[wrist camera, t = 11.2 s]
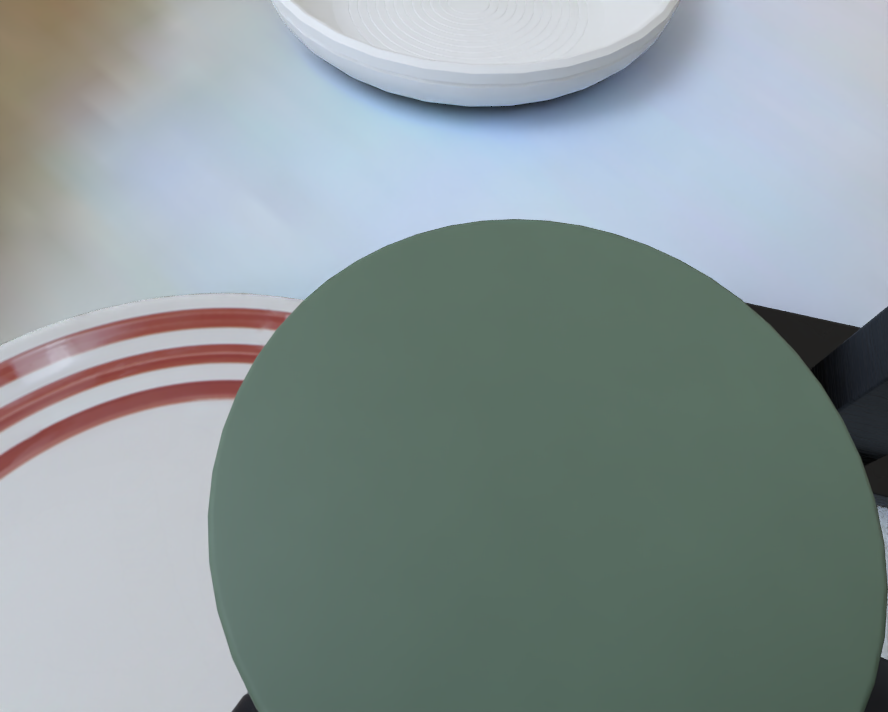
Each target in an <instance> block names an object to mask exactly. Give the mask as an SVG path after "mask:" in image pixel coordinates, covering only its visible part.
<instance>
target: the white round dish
mask: <svg viewBox="0 0 888 712" xmlns="http://www.w3.org/2000/svg"><path fill="white" fill-rule="evenodd" d="M270 1H271V2H272V4H273V6H274V7H275V9H276V11H277V12H278V14H279V15H280V17H281V19H282V20H283V22H284V23H285V25H286V26H287V27H288V28H289V29H290V31H291V32H292V33H293V34H294V35H295V36H296V37H297V38H298V39H299V40H300V41H301V42H303V43H304V44H305V45H306V46H307V47H308V48H309V49H310V50H311V51H312V52H313V53H314V54H316V55H317V56H319V57H320V58H322V59H323V60H325V61H327V62H328V63H330V64H331V65H333V66H335V67H336V68H338V69H339V70H341V71H343V72H344V73H346V74H348V75H349V76H351V77H352V78H355V79H357V80H359V81H362V82H364V83H367V84H369V85H372V86H374V87H377V88H379V89H381V90H384V91H386V92H390V93H394V94H398V95H402V96H406V97H410V98H414V99H418V100H422V101H426V102H433V103H442V104H451V105H460V106H512V105H519V104H525V103H532V102H538V101H545V100H550V99H554V98H557V97H560V96H563V95H566V94H570V93H573V92H576V91H579V90H582V89H585V88H587V87H590V86H592V85H594V84H596V83H598V82H600V81H602V80H604V79H605V78H607V77H609V76H611V75H613V74H615V73H617V72H619V71H621V70H623V69H625V68H626V67H627V66H628V65H629V64H630V63H632V62H633V61H634V60H635V59H636V58H638V57H639V56H640V55H641V54H642V53H643V52H645V51H646V50H647V49H648V48H649V47H650V46H651V45H652V44H653V43H654V42H655V41H656V40H657V39H658V37H659V36H660V34H661V33H662V31H663V30H664V28H665V27H666V25H667V24H668V22H669V21H670V19H671V17H672V15H673V13H674V11H675V10H676V8H677V7H678V4H679V1H680V0H270Z"/></svg>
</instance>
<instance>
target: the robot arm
mask: <svg viewBox="0 0 888 712" xmlns="http://www.w3.org/2000/svg"><path fill="white" fill-rule="evenodd" d="M232 712H258V710H257V709H256V707H255V705H254V703H253V701H252V699H251V697H250V695H249V693H248V692H247V694H245V695H243V697H242V698H241V699H240V701H239V702H238V703H237V705H236V706H235V707H234V709H233V710H232ZM864 712H888V660H886V659H884V658H881V657H880V661H879V666H878V671H877V676H876V680H875V684H874V687H873V690H872V692H871V695H870V698H869V700H868V703H867V705H866V708H865V711H864Z"/></svg>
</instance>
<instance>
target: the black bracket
mask: <svg viewBox="0 0 888 712" xmlns="http://www.w3.org/2000/svg"><path fill="white" fill-rule="evenodd" d="M746 304H747V305H748V306H749V307H750V308H751V309H753V310H754V311H755V312H756V313H757V314H758V315H760V316H761V317H762V318H763V319H764V320H765V321H766V322H768V323H769V324H770V325H771V326H772V327H773V328H774V329H775V330H776V331H777V333H778V334H779V335H780V336H781V337H782V338H783V339H784V340H785V341H786V342H787V343H788V344H789V345H790V346H791V347H792V348H793V349H794V351H795V352H796V353H797V354H798V355H799V356H800V358H801V359H802V360H803V362H804V363H805V364H806V366H807V367H808V368H809V369H810V371H811V372H812V373H813V375H814V376H815V377H816V379H817V380H818V381H819V382H820V384H821V385H822V387H823V388H824V390H825V392H826V393H827V395H828V396H829V398H830V400H831V401H832V403H833V405H834V406H835V408H836V409H837V411H838V413H839V414H840V416H841V418H842V419H843V421H844V423H845V425H846V427H847V430H848V432H849V434H850V436H851V438H852V440H853V442H854V444H855V446H856V449H857V451H858V453H859V455H860V457H861V459H862V462H863V465H864V468H865V471H866V474H867V477H868V480H869V483H870V486H871V489H872V492H873V495H874V498H875V501H876V505H879V506H883V507H887V508H888V307H886V308H885V309H884V310H883V311H881V312H880V313H879V314H878V315H877V316H875V317H874V318H873V319H872V320H870V321H869V322H868V323H867V324H865V325H864V326H863V327H862V328H860V327H855V326H850V325H846V324H841V323H836V322H832V321H827V320H823V319H818V318H813V317H809V316H804V315H800V314H795V313H790V312H786V311H781V310H777V309H772V308H767V307H763V306H758V305H753V304H749V303H746Z"/></svg>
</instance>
